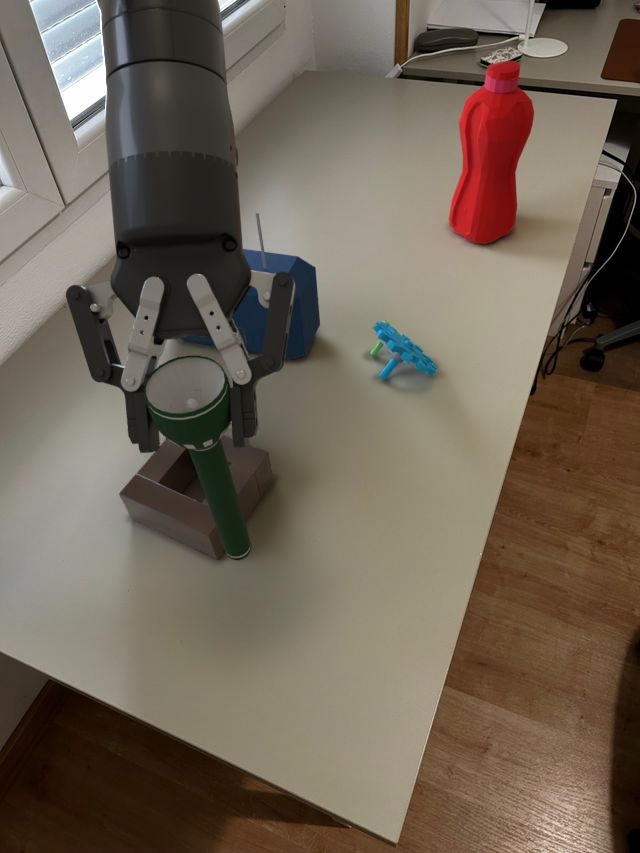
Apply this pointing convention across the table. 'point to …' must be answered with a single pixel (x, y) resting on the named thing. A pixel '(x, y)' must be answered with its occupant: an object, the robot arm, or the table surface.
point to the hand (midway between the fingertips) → (196, 447)
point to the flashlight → (201, 435)
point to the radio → (254, 315)
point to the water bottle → (491, 155)
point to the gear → (400, 350)
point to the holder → (182, 516)
